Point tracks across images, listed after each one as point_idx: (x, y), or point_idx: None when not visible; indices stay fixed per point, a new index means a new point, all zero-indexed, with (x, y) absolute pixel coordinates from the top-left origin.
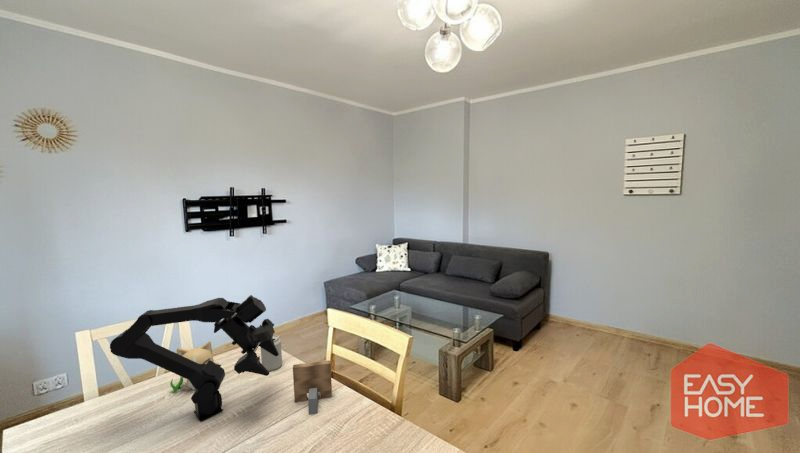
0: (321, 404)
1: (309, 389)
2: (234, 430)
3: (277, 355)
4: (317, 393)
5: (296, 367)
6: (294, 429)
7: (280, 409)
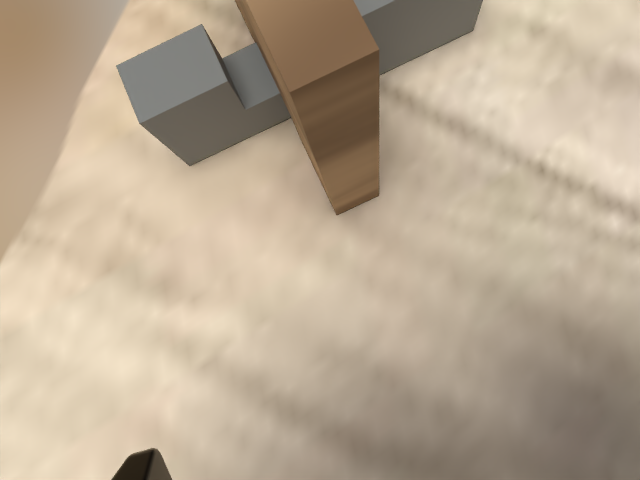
0: None
1: (364, 12)
2: None
3: (164, 468)
4: None
5: (348, 6)
6: (634, 43)
7: (478, 255)
